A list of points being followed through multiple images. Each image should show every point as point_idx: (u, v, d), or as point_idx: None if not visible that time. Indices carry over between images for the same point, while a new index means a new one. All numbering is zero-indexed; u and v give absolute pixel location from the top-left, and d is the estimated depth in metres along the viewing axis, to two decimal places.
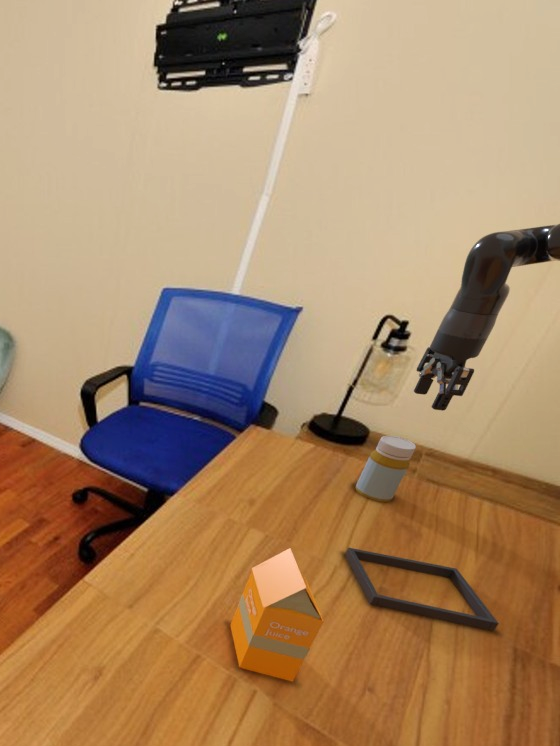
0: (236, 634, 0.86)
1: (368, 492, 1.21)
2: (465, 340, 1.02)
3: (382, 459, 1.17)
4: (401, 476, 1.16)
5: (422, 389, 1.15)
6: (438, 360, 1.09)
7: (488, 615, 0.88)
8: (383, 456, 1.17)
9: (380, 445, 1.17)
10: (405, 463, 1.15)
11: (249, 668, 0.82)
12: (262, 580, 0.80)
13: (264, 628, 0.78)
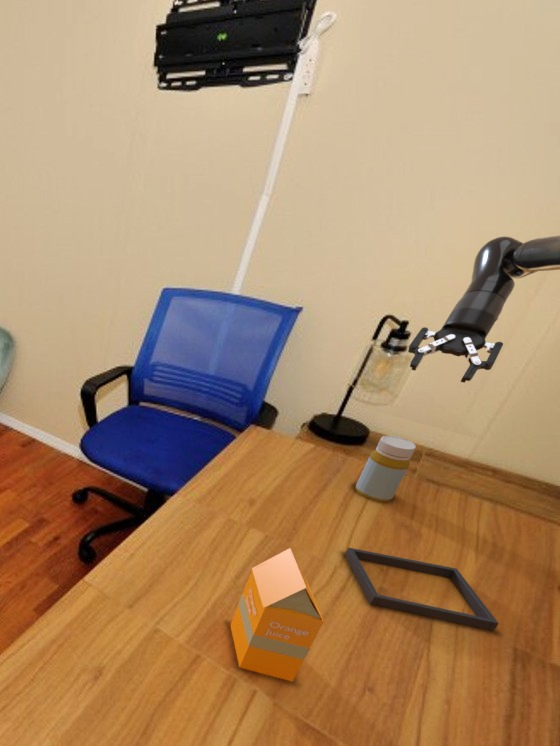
0: (236, 634, 0.86)
1: (368, 492, 1.21)
2: None
3: (382, 459, 1.17)
4: (401, 476, 1.16)
5: None
6: None
7: (488, 615, 0.88)
8: (383, 456, 1.17)
9: (380, 445, 1.17)
10: (405, 463, 1.15)
11: (249, 668, 0.82)
12: (262, 580, 0.80)
13: (264, 628, 0.78)
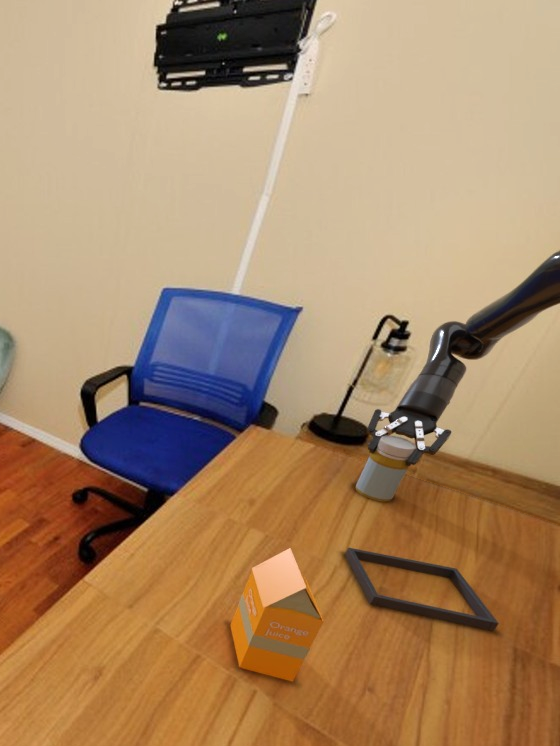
0: (236, 634, 0.86)
1: (368, 492, 1.21)
2: None
3: (382, 459, 1.17)
4: (401, 476, 1.16)
5: None
6: None
7: (488, 615, 0.88)
8: (383, 456, 1.17)
9: (380, 445, 1.17)
10: (405, 463, 1.15)
11: (249, 668, 0.82)
12: (262, 580, 0.80)
13: (264, 628, 0.78)
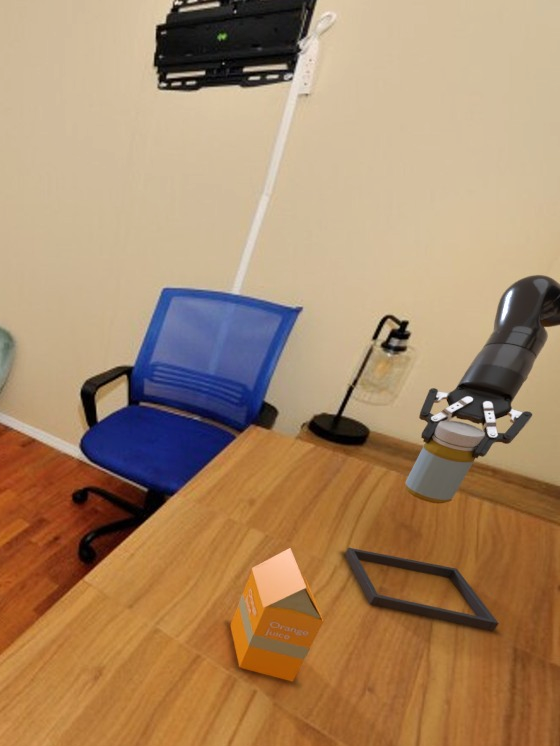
0: (236, 634, 0.86)
1: (421, 491, 0.97)
2: None
3: (441, 449, 0.94)
4: (466, 470, 0.93)
5: None
6: None
7: (488, 615, 0.88)
8: (442, 446, 0.93)
9: (438, 432, 0.94)
10: (471, 454, 0.92)
11: (249, 668, 0.82)
12: (262, 580, 0.80)
13: (264, 628, 0.78)
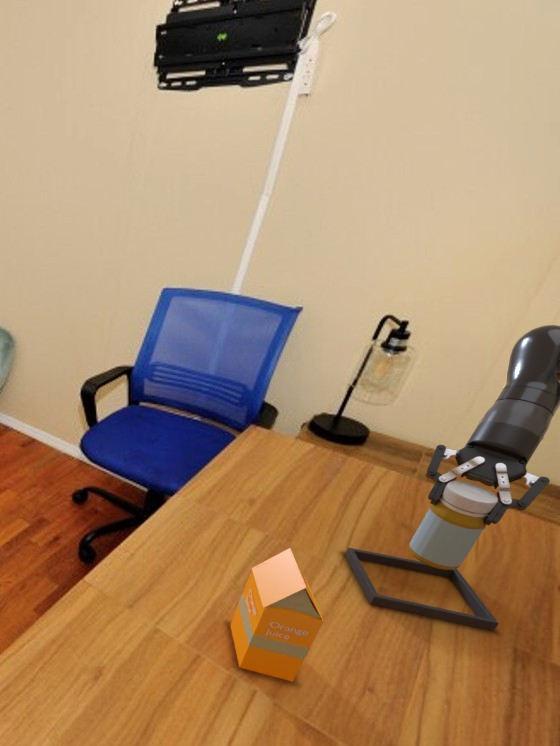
0: (236, 634, 0.86)
1: (427, 556, 0.90)
2: None
3: (450, 514, 0.86)
4: (476, 537, 0.86)
5: None
6: None
7: (488, 615, 0.88)
8: (451, 510, 0.86)
9: (447, 495, 0.87)
10: (482, 521, 0.84)
11: (249, 668, 0.82)
12: (262, 580, 0.80)
13: (264, 628, 0.78)
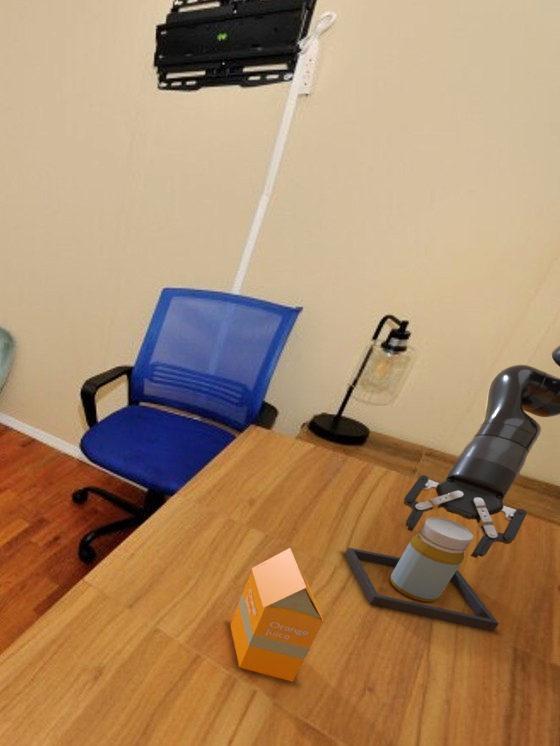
0: (236, 634, 0.86)
1: (407, 589, 0.94)
2: None
3: (428, 549, 0.90)
4: (453, 572, 0.90)
5: (474, 549, 0.87)
6: None
7: (488, 615, 0.88)
8: (429, 546, 0.90)
9: (425, 531, 0.91)
10: (459, 557, 0.88)
11: (249, 668, 0.82)
12: (262, 580, 0.80)
13: (264, 628, 0.78)
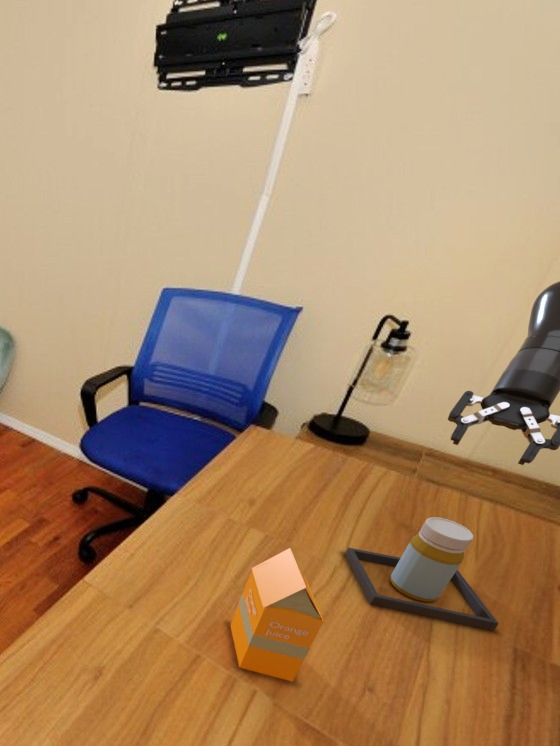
0: (236, 634, 0.86)
1: (408, 589, 0.94)
2: None
3: (428, 549, 0.90)
4: (453, 572, 0.90)
5: None
6: None
7: (488, 615, 0.88)
8: (429, 546, 0.90)
9: (425, 531, 0.91)
10: (459, 557, 0.88)
11: (249, 668, 0.82)
12: (262, 580, 0.80)
13: (264, 628, 0.78)
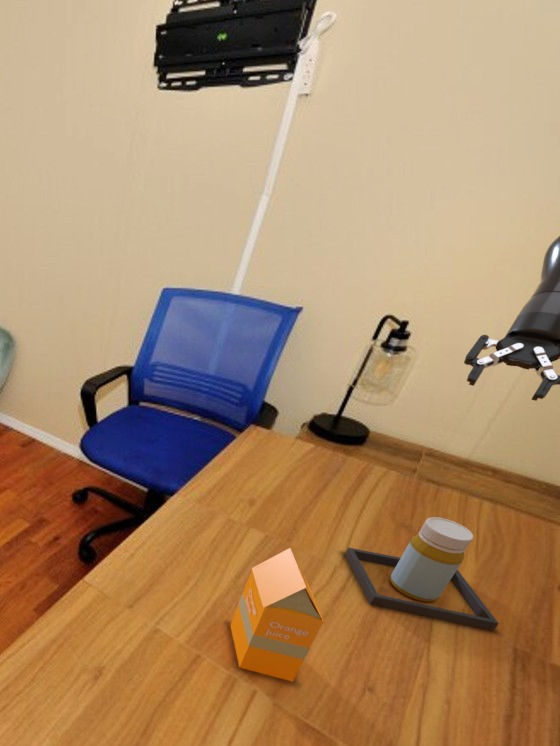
0: (236, 634, 0.86)
1: (408, 589, 0.94)
2: None
3: (428, 549, 0.90)
4: (453, 572, 0.90)
5: None
6: None
7: (488, 615, 0.88)
8: (429, 546, 0.90)
9: (425, 531, 0.91)
10: (459, 557, 0.88)
11: (249, 668, 0.82)
12: (262, 580, 0.80)
13: (264, 628, 0.78)
